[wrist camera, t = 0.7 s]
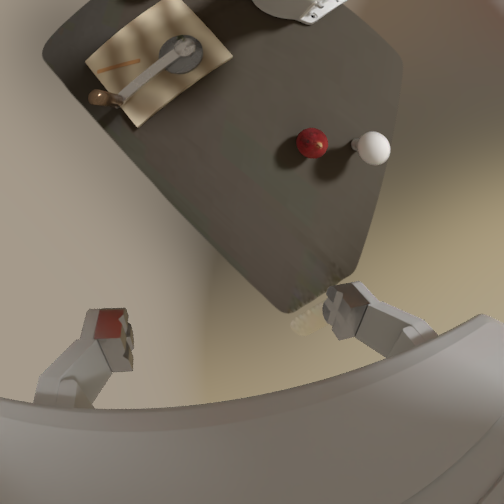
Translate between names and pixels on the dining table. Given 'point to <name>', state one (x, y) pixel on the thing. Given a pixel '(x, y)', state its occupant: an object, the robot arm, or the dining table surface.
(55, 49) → the dining table surface
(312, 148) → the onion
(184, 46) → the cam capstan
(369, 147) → the lightbulb
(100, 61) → the stand
